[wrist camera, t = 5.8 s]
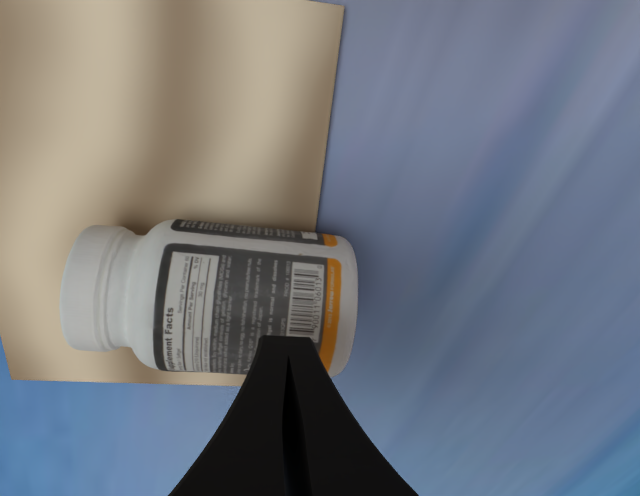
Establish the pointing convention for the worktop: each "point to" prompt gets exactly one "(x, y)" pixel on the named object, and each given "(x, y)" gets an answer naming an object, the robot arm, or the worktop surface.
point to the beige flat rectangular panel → (149, 143)
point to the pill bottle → (208, 293)
